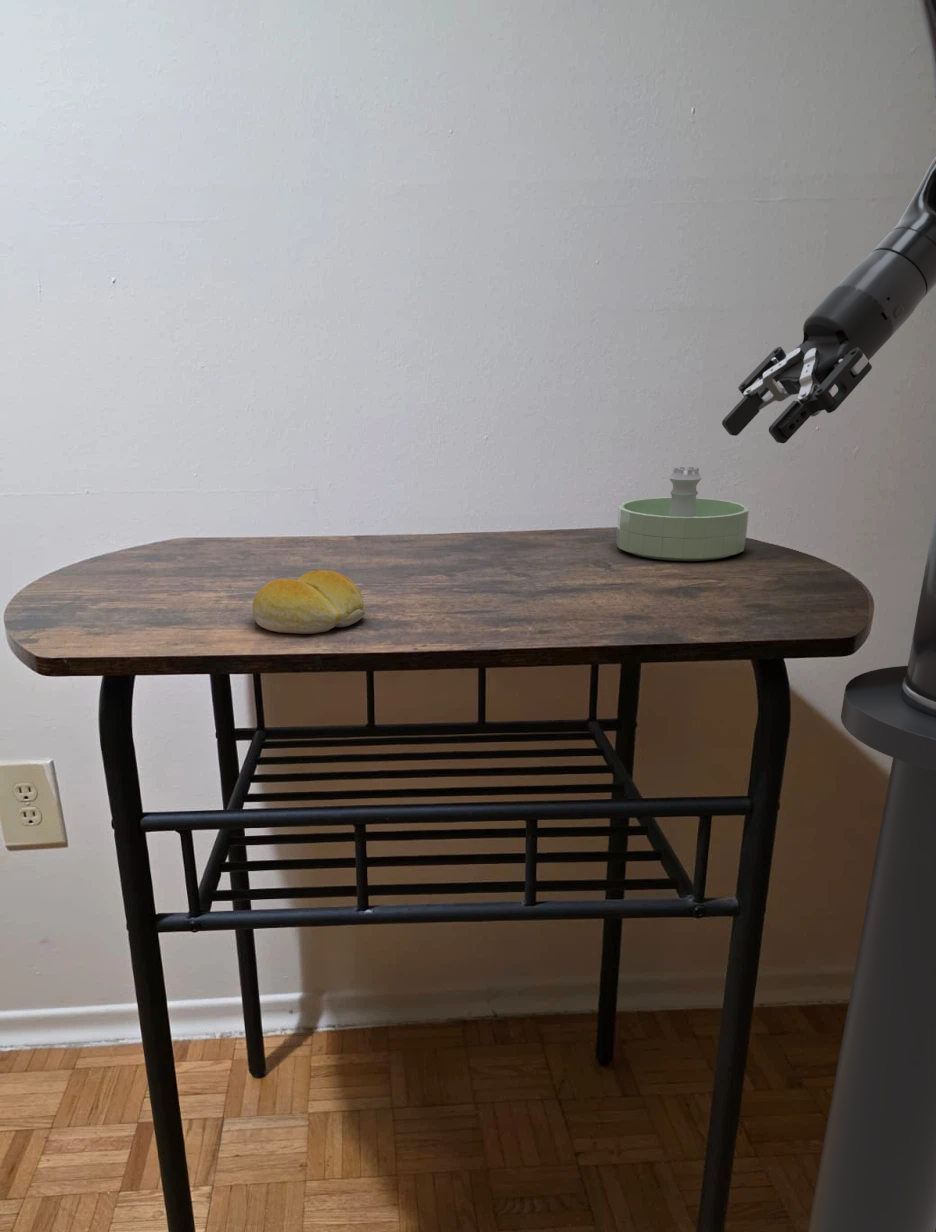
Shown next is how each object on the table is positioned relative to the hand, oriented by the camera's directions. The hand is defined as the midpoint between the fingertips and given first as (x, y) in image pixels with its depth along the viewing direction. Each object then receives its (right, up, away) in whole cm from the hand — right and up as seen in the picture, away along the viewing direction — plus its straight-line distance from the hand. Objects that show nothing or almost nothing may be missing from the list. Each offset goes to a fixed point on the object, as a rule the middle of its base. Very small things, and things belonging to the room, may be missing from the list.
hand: (750, 433), depth 100 cm
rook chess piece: (-7, -11, +3) cm, 13 cm away
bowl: (-7, -12, +3) cm, 13 cm away
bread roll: (-44, -22, -20) cm, 53 cm away
